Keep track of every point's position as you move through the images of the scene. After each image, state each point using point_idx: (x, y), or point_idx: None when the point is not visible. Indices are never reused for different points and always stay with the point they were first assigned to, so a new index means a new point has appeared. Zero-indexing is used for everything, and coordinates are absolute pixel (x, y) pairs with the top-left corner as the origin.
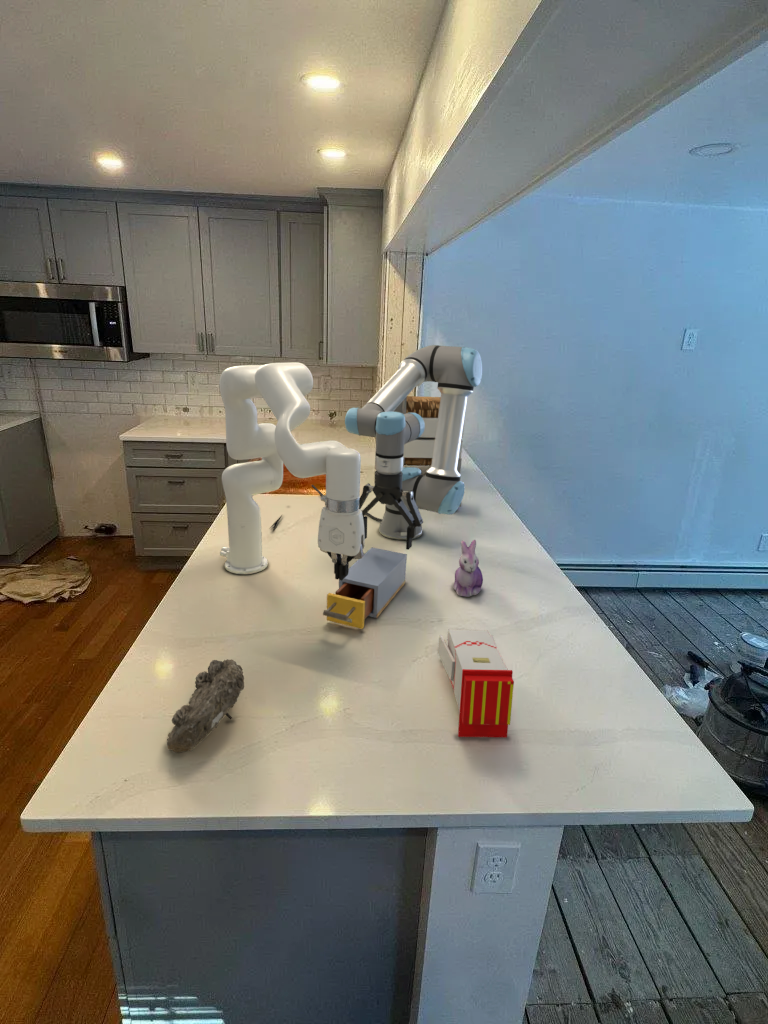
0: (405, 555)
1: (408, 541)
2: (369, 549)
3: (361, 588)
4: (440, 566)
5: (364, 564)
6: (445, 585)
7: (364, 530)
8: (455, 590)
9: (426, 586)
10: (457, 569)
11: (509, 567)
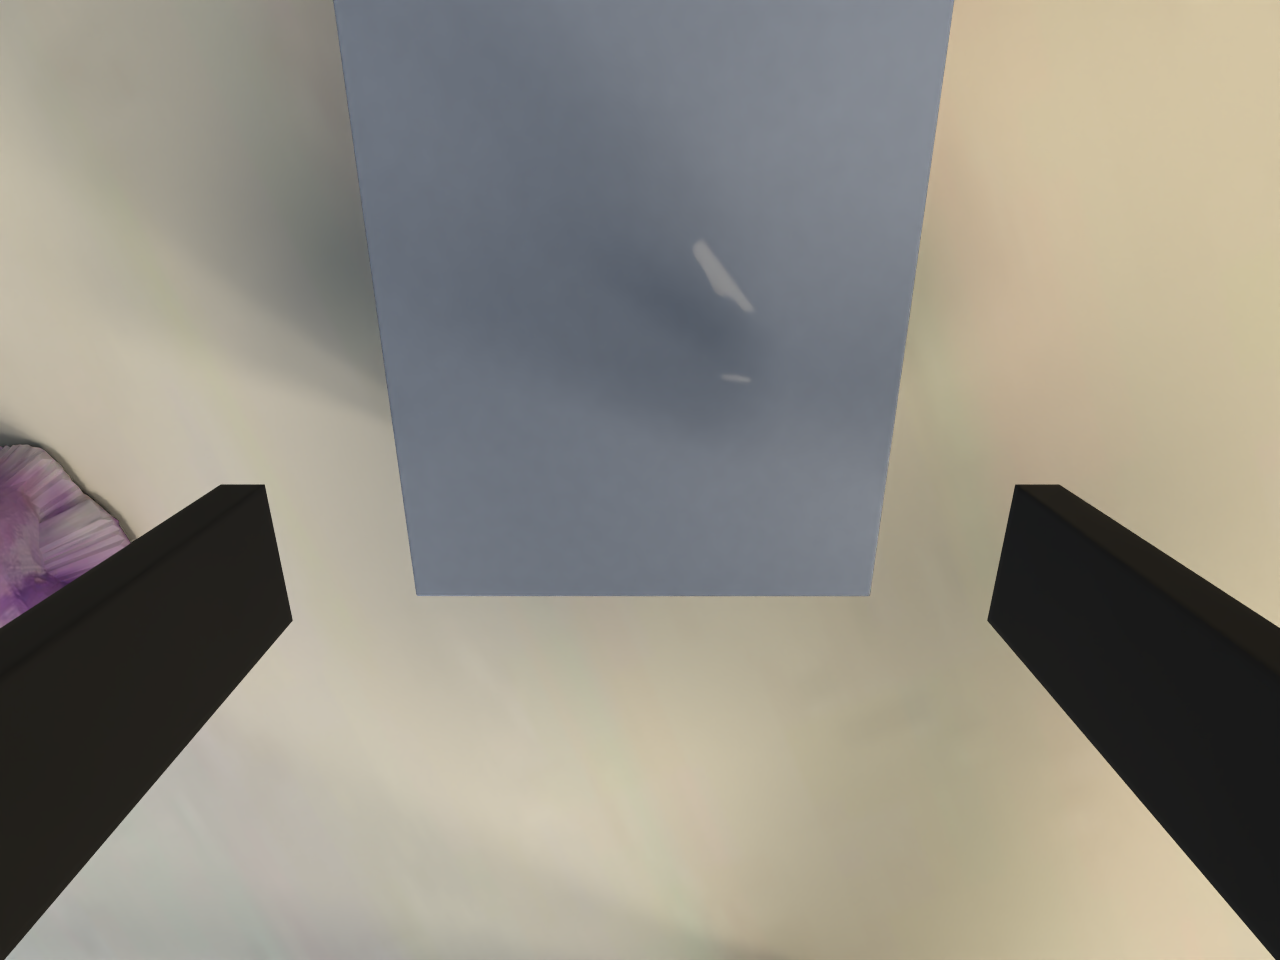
0: (414, 559)
1: (134, 551)
2: (876, 527)
3: None
4: (384, 790)
5: (793, 21)
6: None
7: (1112, 618)
8: (88, 499)
9: (324, 483)
10: None
11: None
